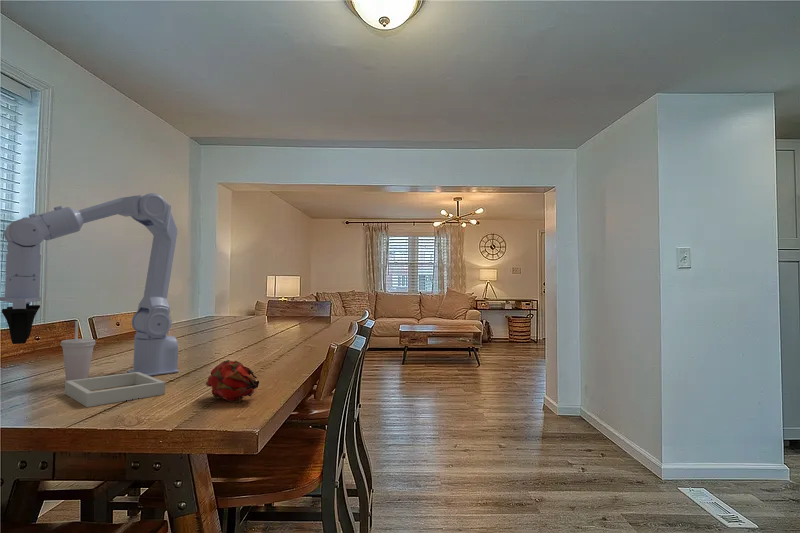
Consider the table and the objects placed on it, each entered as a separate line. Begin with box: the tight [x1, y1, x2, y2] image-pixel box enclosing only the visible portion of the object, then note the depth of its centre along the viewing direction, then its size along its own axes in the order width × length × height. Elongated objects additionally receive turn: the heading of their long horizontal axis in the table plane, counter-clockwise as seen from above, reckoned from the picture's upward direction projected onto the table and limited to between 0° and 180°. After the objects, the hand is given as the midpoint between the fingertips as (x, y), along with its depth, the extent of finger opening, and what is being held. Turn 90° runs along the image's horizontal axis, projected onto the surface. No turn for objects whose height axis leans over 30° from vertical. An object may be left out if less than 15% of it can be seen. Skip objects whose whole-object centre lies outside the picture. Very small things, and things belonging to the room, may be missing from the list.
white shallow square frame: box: [64, 372, 166, 408], centre depth 98 cm, size 14×14×2 cm
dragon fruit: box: [205, 359, 260, 404], centre depth 96 cm, size 8×8×12 cm
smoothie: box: [60, 320, 96, 381], centre depth 105 cm, size 6×6×14 cm
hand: (20, 341), depth 99 cm, fingers open, 7 cm apart
